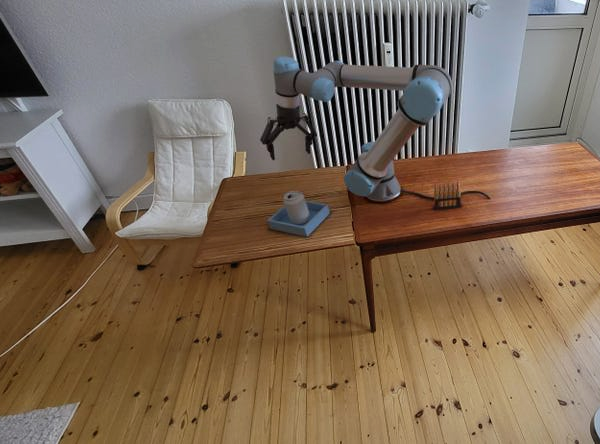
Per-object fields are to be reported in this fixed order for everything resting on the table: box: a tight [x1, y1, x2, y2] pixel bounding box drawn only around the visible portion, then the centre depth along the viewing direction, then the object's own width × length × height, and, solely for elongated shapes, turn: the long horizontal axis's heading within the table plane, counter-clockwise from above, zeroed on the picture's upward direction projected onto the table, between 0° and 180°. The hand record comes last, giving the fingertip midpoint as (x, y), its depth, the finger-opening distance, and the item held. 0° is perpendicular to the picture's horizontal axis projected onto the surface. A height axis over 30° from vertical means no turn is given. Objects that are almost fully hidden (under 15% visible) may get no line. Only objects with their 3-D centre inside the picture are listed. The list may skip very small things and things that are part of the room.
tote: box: [267, 200, 331, 238], centre depth 146 cm, size 17×16×4 cm
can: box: [282, 190, 310, 225], centre depth 143 cm, size 8×8×12 cm
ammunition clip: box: [433, 181, 462, 211], centre depth 148 cm, size 11×2×12 cm, turn 98°
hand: (290, 155), depth 144 cm, fingers open, 13 cm apart
